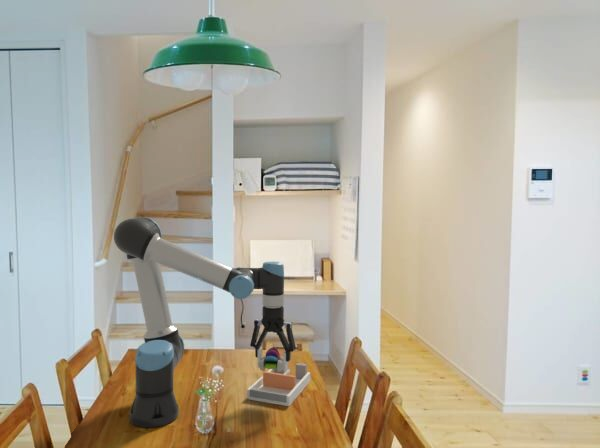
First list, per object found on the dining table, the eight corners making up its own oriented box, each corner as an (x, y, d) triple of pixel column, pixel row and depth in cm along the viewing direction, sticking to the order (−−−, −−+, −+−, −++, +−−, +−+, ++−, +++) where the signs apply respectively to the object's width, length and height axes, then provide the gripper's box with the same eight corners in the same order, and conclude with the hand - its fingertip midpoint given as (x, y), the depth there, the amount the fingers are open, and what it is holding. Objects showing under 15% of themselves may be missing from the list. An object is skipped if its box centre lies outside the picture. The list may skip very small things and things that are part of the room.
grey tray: (289, 406, 159) (289, 387, 158) (246, 399, 164) (247, 381, 164) (310, 381, 181) (310, 364, 181) (272, 375, 187) (272, 359, 186)
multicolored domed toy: (286, 364, 168) (286, 345, 168) (281, 374, 158) (281, 354, 158) (263, 363, 169) (263, 343, 169) (257, 373, 160) (257, 352, 159)
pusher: (294, 390, 169) (294, 377, 169) (262, 385, 173) (263, 372, 173) (304, 379, 179) (304, 367, 179) (274, 375, 184) (274, 362, 183)
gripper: (305, 306, 163) (305, 368, 164) (249, 301, 170) (249, 360, 171) (298, 310, 156) (298, 375, 157) (240, 305, 163) (240, 367, 164)
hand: (272, 368), depth 164 cm, fingers closed on multicolored domed toy, 9 cm apart
